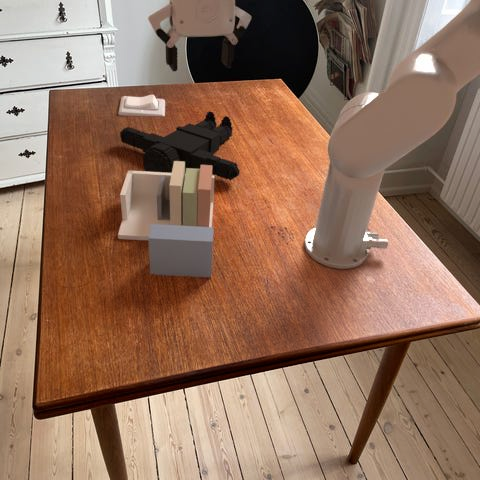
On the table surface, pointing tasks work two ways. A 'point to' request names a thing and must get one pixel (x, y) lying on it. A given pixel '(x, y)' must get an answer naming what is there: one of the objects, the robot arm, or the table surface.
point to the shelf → (166, 200)
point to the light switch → (141, 106)
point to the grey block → (180, 250)
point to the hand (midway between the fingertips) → (200, 66)
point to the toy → (185, 147)
